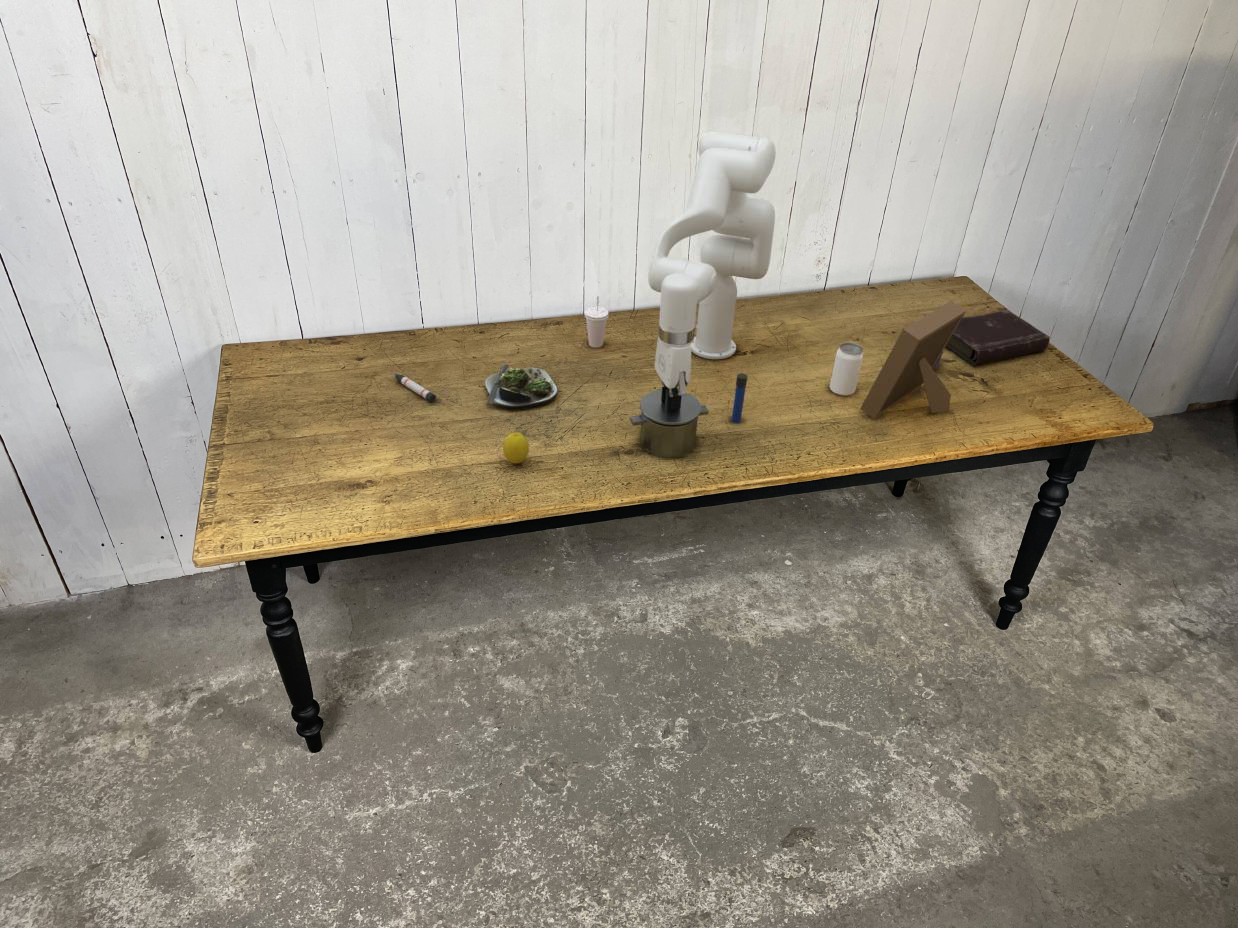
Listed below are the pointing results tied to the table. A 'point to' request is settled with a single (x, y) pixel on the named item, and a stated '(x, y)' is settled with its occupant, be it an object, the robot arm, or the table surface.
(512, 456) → the lemon
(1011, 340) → the diary
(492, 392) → the salad plate
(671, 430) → the pot
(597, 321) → the smoothie
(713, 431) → the table surface
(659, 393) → the pot lid
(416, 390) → the marker
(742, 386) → the pen
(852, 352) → the can
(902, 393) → the photo frame
